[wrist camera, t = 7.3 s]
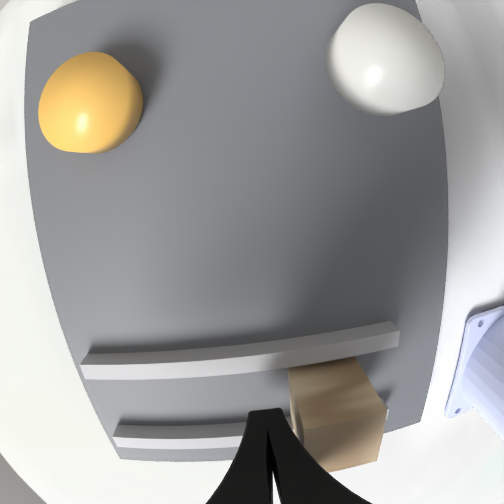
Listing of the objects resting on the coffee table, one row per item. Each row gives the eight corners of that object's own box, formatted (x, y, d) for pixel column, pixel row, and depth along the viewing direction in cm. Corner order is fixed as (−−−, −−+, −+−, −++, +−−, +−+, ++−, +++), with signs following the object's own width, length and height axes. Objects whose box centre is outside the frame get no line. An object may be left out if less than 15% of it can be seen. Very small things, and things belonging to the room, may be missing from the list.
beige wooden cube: (353, 354, 13) (387, 410, 9) (350, 403, 14) (376, 460, 10) (287, 365, 13) (303, 429, 9) (290, 414, 14) (304, 476, 10)
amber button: (140, 56, 10) (126, 39, 8) (146, 143, 11) (132, 138, 9) (60, 80, 10) (38, 70, 8) (64, 162, 11) (41, 162, 9)
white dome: (407, 30, 9) (431, 13, 7) (424, 118, 10) (453, 112, 8) (317, 21, 9) (330, -3, 7) (332, 116, 10) (351, 106, 8)
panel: (395, -9, 11) (416, -30, 8) (410, 407, 17) (426, 431, 14) (44, 31, 11) (19, 15, 8) (125, 442, 16) (116, 470, 14)
